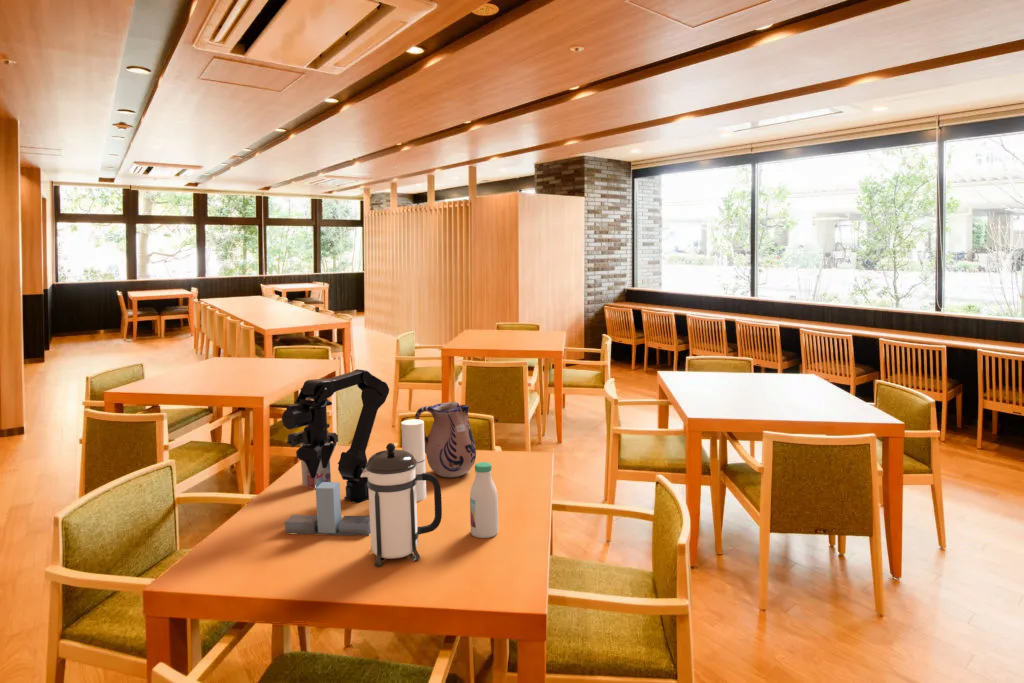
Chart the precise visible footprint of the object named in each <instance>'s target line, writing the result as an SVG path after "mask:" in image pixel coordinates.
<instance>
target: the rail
mask: <svg viewBox="0 0 1024 683" xmlns="http://www.w3.org/2000/svg"><path fill="white" fill-rule="evenodd" d="M338 525H339V529H338V531H337V532H336V533H318V521H317V514H314V515H312V514H291V515H290V516H289V517H288V518H287V519H286V520H285V521H284V530H285V533H284V534H286V533H297V534H296V535H306V534H326V535H325V536H353V535H360V536H361V535H365V536H364V537H368V536H370V535H371V532H370V515H344V516H343V517H341V520H340V522H339V523H338ZM369 534H370V535H369Z"/></svg>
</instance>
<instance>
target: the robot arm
mask: <svg viewBox="0 0 1024 683" xmlns="http://www.w3.org/2000/svg"><path fill="white" fill-rule="evenodd" d="M354 386H357V388H358V389H360V390H361V395H360V398H361V402H362V407H361V411H360V414H359V417H358V421H357V423H356V428H355V431H354V435H353V437H352V439H351V440H352V441H351V444H350V448H348V449H347V451H342V452H341V453H340V458H339V461H338V462H337V465H338V467H337V470H338V473H339V474H340V475H341V478H342V480H344V481H346V482H345V483H346V486H345V496H344V499H345V500H347V501H350V502H352V503H355V504H358V503H361V502H363V501H365V500H369V490H368V487H367V478H368V477H361V474H362V472H363V470H364V469H365V468H366V463H367V462H368V459H367V453H366V450H367V447H368V444H369V442H370V441H369V440H370V438H371V434H372V431H373V427H374V423H375V421H376V417H377V413H378V410H379V408H381V407H382V405H384V404H385V402H386V400H387V398H388V396H389V393H390V387H389V386H388V384H387V382H385V381H383V380H382V379H380V378H378V377H377V376H375V375H373V374H371V372H370V371H368V370H367V369H360V368H359V369H358V368H357V369H355V370H353V371H350V372H346V373H343V374H340V375H337V376H333V377H329V378H316V379H315V378H313V379H308V380H305V381H304V383H303V385H302V387H301V390H300V392H299V393H298V396H297V398H296V400H295V402H294V404H287V405H286V406H285V407H286V410H284V411H283V414H282V416H281V421H282V424H283V427H285V428H286V429H287V430H293V429H297V428H302V427H304V428H303V430H300V431H298V432H292V433H289V434H288V435H287V438H286V444H288V445H290V447H291V448H294V447H296V446H297V445H300V444H301V443H304V445H303V446H302V447H300V446H299V448H298V449H297V450H296V451H295V454H296V455H295V456H296V459H298V460H300V461H301V460H303V461H304V462H305V463H306V465H307V468H308V470H309V473H310V475H311V478H315V477H316V474H317V471H318V467H319V464H320V461H321V462H322V466H323V468H327V466H328V463H329V460H331V457H332V455H333V453H334V452H335V448H336V446H337V443H338V442H339V435H338V434H337V433H336V432H328V433H327V430H328V428H330V423H328V416H327V415H328V414H327V413H328V412H327V406H332V405H333V402H332V401H330V400H329V398H330V397H332V396H333V395H334V393H337V392H338V391H341V390H345V389H349V388H350V387H354ZM306 425H307V426H306ZM308 444H310V445H308Z"/></svg>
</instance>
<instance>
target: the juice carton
mask: <svg viewBox="0 0 1024 683" xmlns="http://www.w3.org/2000/svg"><path fill="white" fill-rule="evenodd" d="M306 426H307V425H306ZM306 426H305V427H306ZM327 433H329V430H328V429H327ZM299 445H300V446H299V448H300V447H302V446H303V445H304V443H301V444H299ZM308 445H310V444H308ZM330 460H331V459H330ZM330 460H329V463H328V466H327V468H323V466H322V462H321V461H320V464H319V467H318V471H317V474H316V477H315V478H311V475H310V473H309V470H308V468H307V465H306V463H305V462H304V461H303V460H300V461H301V462H300V464H301V466H300V467H301V482H302V483H301V484H302V486H303V485H304V486H303V487H305V486H307V487H306V488H309V487H311V488H310V489H313V488H315V485H316V487H318V486H319V485H320V484H321V483H322V482H332V478H331V476H332V475H331V461H330ZM314 490H316V488H315V489H314Z"/></svg>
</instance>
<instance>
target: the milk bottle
mask: <svg viewBox="0 0 1024 683" xmlns="http://www.w3.org/2000/svg"><path fill="white" fill-rule="evenodd" d="M492 469H493V468H492V464H491V463H490V462H487V461H479V462H477V463H474V472H475V478H474V480H473V483H472V485H471V487H470V488H471V489H470V493H469V494H470V496H469V507H470V508H469V509H470V510H469V511H470V512H469V513H470V514H469V515H470V518H469V519H470V520H469V521H470V533H471V536H473V537H475V538H478V539H489V538H493V537H495V536H497V535H498V533H499V502H498V501H499V500H498V499H499V498H498V490H497V487H496V484H495V482H494V481H493V478H492V475H491V474H492Z"/></svg>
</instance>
